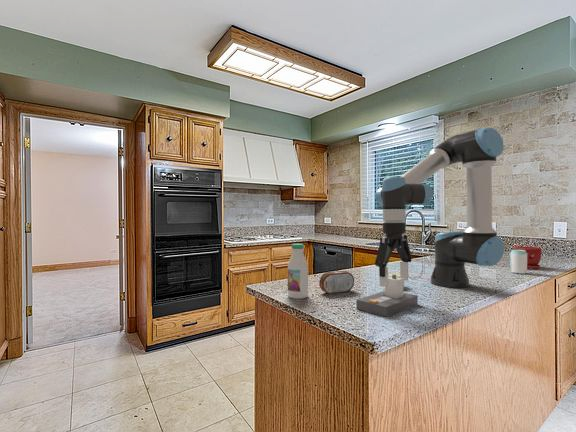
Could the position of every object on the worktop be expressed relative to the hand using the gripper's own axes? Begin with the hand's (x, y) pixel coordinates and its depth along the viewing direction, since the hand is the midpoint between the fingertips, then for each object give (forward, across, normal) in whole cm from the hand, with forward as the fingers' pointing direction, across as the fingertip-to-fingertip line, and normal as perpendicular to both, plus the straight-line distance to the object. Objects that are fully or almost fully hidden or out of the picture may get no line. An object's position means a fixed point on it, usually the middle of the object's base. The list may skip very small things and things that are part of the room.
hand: (394, 283), depth 109 cm
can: (+8, -98, +14) cm, 99 cm away
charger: (+7, 0, 0) cm, 7 cm away
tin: (+7, +2, -24) cm, 25 cm away
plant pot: (+9, -120, +13) cm, 121 cm away
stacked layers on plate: (+8, -23, -13) cm, 27 cm away
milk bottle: (+7, +18, -30) cm, 36 cm away
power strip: (+7, +4, 0) cm, 8 cm away
